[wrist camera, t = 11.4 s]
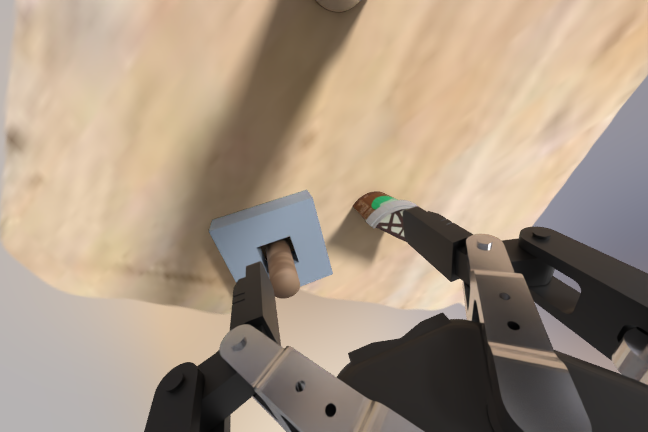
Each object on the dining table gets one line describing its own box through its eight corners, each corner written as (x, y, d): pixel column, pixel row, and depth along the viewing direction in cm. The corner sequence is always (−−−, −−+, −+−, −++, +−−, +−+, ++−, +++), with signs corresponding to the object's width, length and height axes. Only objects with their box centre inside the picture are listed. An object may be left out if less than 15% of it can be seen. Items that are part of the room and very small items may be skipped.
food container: (410, 201, 48) (446, 222, 39) (393, 226, 49) (424, 252, 41) (364, 173, 42) (394, 191, 34) (346, 203, 44) (371, 227, 35)
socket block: (306, 189, 41) (312, 197, 37) (326, 261, 48) (332, 273, 45) (212, 220, 38) (208, 231, 35) (248, 291, 46) (248, 306, 42)
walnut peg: (283, 229, 42) (295, 270, 32) (290, 247, 44) (303, 291, 34) (262, 237, 42) (266, 281, 31) (269, 255, 44) (276, 302, 33)
